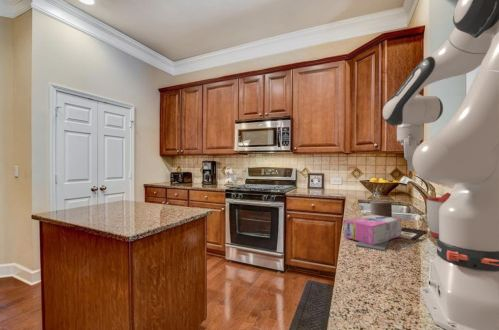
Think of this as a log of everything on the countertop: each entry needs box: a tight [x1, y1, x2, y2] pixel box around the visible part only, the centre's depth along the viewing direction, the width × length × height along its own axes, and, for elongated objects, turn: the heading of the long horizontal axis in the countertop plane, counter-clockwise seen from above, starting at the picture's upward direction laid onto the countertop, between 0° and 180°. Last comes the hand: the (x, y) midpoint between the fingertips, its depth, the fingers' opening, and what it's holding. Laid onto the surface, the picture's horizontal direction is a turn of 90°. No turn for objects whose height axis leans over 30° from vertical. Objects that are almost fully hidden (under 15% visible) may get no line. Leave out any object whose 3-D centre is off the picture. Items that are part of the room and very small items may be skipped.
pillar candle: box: [369, 199, 393, 217], centre depth 123 cm, size 10×10×15 cm
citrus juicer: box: [425, 192, 451, 239], centre depth 107 cm, size 16×17×20 cm
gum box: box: [343, 213, 402, 245], centre depth 108 cm, size 24×8×14 cm
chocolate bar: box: [397, 227, 426, 241], centre depth 113 cm, size 9×1×18 cm
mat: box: [355, 240, 390, 252], centre depth 104 cm, size 24×10×1 cm, turn 144°
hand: (411, 171), depth 95 cm, fingers open, 8 cm apart
